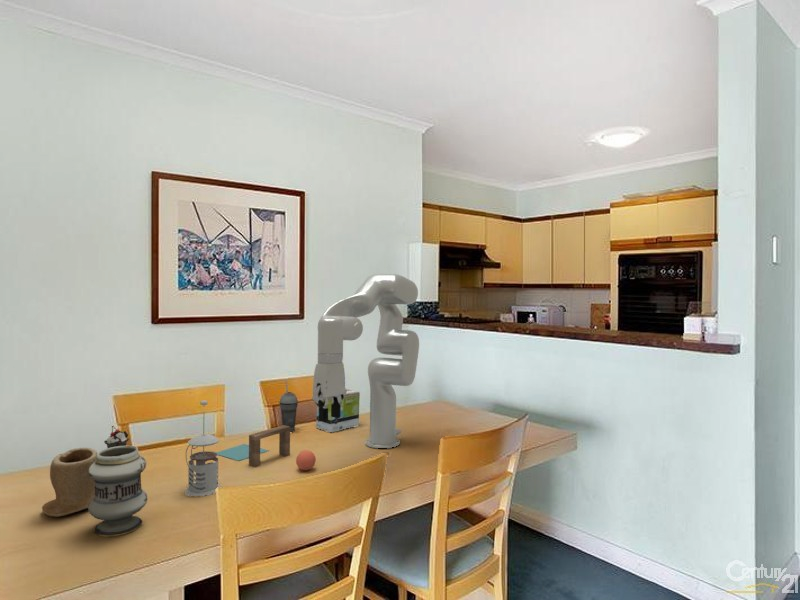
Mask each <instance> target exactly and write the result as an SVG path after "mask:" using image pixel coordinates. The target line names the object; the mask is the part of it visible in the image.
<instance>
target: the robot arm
mask: <svg viewBox="0 0 800 600" xmlns="http://www.w3.org/2000/svg"><path fill="white" fill-rule="evenodd" d="M418 297H419V290H418V287H417V285H416V283H415V282H414V281H413V280H411V279H409V278H406V277H405V276H403V275H400V274H398V273H378V274H377V273H375V274H371V275H369V276H367V278H366V279H365V280H364V282H363V283H362V284H360V287H358V289H357V290H356V291H355V292H354V293H353V294H352V295H349V296H348V297H345V298H344V299H341V300H339V301H337V302H336V303H334V304H332V305H331V306H329V307H328V308H327V310H326V311H325V312H324V313H323V314H322V316H321V317H320V318H319V319H318V322H317V363H316V364H315V368H314V373H313V379H312V381H313V382H312V397H311V400H312V401H313V402H314V403H315V405H316V408H317V407H318V408H319V421H323V422H328V408H327V403H328V398H331V397H332V401H333V404H331V417H335V418H340V408H341V404H342V400H343V398H344V395H345V394H346V392H347V390H346V389H347V388H346V375H345V374H346V373H345V365H344V362H343V361H344V341H355V340H357V339H359V338H360V337H361V336H362V334H363V329H364V327H363V326H364V325H363V323H362V320H360V319H359V318H361V317H364V316H367V315H369V314H371V313H373V311H374V310H375V309H376V308H377V307H378V310H379V313H380V320H379V326H378V327H379V328H378V333H377V339H376V349H377V351H378V353H379V354H382V355H385V356H386V355H388V356H401V358H392V357H376V358H373V359H371V360H370V362H369V364H368V366H367V375H368V381H369V389H370V390H369V392H370V394H369V395H370V400H369V404H370V406H369V410H370V411H369V437H368V438H367V439H366V440H365V445H366V447H369V448H372V449H378V448H387V449H393V448H392V447H394V448H397V447H398V445H399V444H401V441H400V439H399V438H397V436H398V435H400V434H402V429H401V428H397V394H396V392H395V389H394V387H393V386H400V387H402V386H403V387H409V386H411V385H412V384H413V382H414V381H415V378H416V373H417V372H416V371H417V366H418V358H419V351H420V338H419V336H418V334H417V333H416V331H413V330H408V329H403V322H404V316H403V315H402V311H400V309H399V308H398V306H397V305H412V304H414V303H416V302H417V299H418ZM322 399H324V403H323V402H322ZM396 446H397V447H396Z"/></svg>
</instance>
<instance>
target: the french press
mask: <svg viewBox="0 0 800 600" xmlns="http://www.w3.org/2000/svg"><path fill="white" fill-rule="evenodd" d="M199 405H200V406H207V405H208V401H207V400H205V399H204V400H201V401H200V404H199ZM202 414H203V421H202V424H203V426H202V427H203V428H202V429H203V431H202V432H203V433H202V434H199V435H196V436H194V437H192V438H191V439H189V440H188V441H187V444H188V446H187V447H186V449H185V461H186V465H187V467H188V470H187V471H188V473H187V474H188V475H187V476H188V479H187V480H188V483H187V484H188V486H187V488H186V489H185V490H184V491H185V493H184V495H186V494H187V495H189V496H188V497H191V496H203V497H206V496H205V495H209V496H211V495H210V494H212V493H213V495H215V489H216V488H217V487H222V485H221V484H219V458H218V457H217V456H218V455H217V453H216V452H215V451H205V447H209V446H214V445H216V444H218V443H219V442H220V438H219V437H217V436H215V435H212V434H205V413H202ZM189 447H191V449H190V456H189V459H190V460H188V459H187V457H188V454H187V453H188V449H189ZM198 447H199V448H200V447H202V451H198V452H194V453H193V450H195V449H197V448H198ZM208 461H212V462H208ZM213 461H214V462H213ZM206 462H207V463H206ZM187 495H186V496H187Z"/></svg>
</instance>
